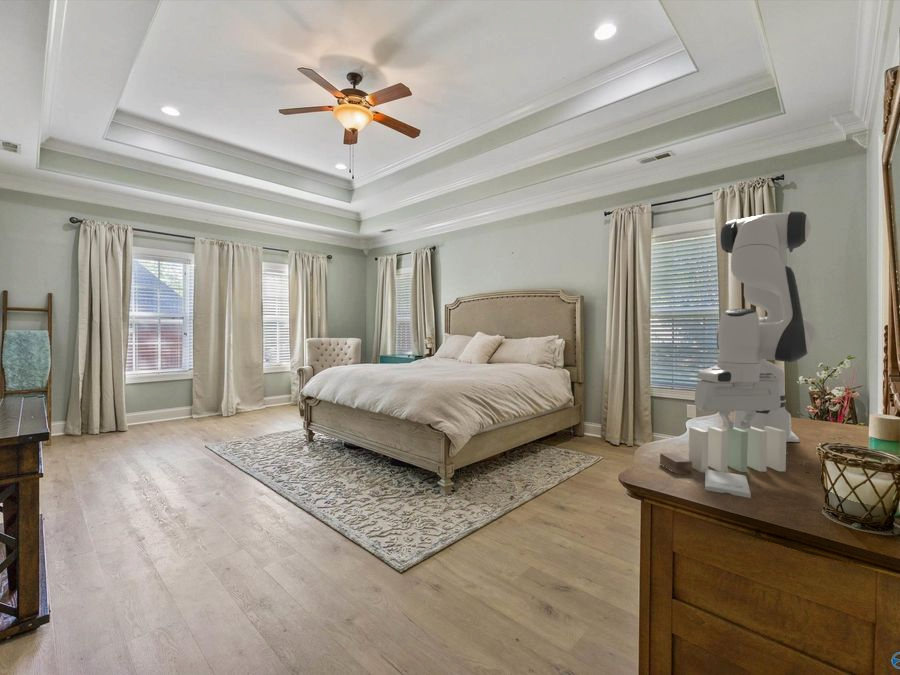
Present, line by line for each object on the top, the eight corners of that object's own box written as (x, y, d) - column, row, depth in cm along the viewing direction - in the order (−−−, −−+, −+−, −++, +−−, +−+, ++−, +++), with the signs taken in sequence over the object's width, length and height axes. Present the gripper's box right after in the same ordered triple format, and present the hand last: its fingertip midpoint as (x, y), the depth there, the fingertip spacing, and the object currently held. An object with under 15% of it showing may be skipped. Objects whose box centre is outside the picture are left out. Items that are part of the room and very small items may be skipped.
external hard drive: (746, 482, 98) (750, 500, 88) (705, 475, 103) (704, 492, 92) (746, 475, 98) (751, 492, 88) (705, 469, 102) (704, 485, 92)
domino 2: (713, 465, 108) (714, 426, 108) (727, 472, 103) (728, 431, 103) (707, 465, 108) (708, 426, 108) (720, 472, 103) (721, 431, 103)
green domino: (732, 465, 109) (733, 426, 108) (747, 471, 104) (747, 431, 103) (726, 465, 109) (727, 426, 108) (740, 471, 104) (741, 431, 103)
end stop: (675, 464, 109) (675, 453, 109) (692, 473, 102) (692, 461, 102) (660, 464, 109) (660, 453, 109) (676, 474, 102) (676, 461, 102)
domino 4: (769, 464, 109) (770, 426, 109) (785, 471, 104) (786, 431, 104) (763, 464, 109) (764, 426, 109) (779, 471, 104) (780, 431, 104)
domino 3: (750, 464, 109) (751, 426, 109) (766, 471, 104) (767, 431, 104) (744, 465, 109) (745, 426, 109) (760, 471, 104) (760, 431, 104)
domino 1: (694, 465, 108) (695, 427, 108) (707, 472, 103) (708, 431, 103) (688, 465, 108) (689, 427, 108) (701, 472, 103) (702, 431, 103)
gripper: (767, 371, 109) (766, 424, 110) (691, 372, 108) (690, 425, 109) (788, 374, 103) (787, 430, 104) (707, 375, 102) (706, 432, 103)
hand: (737, 428), depth 106 cm, fingers open, 3 cm apart
